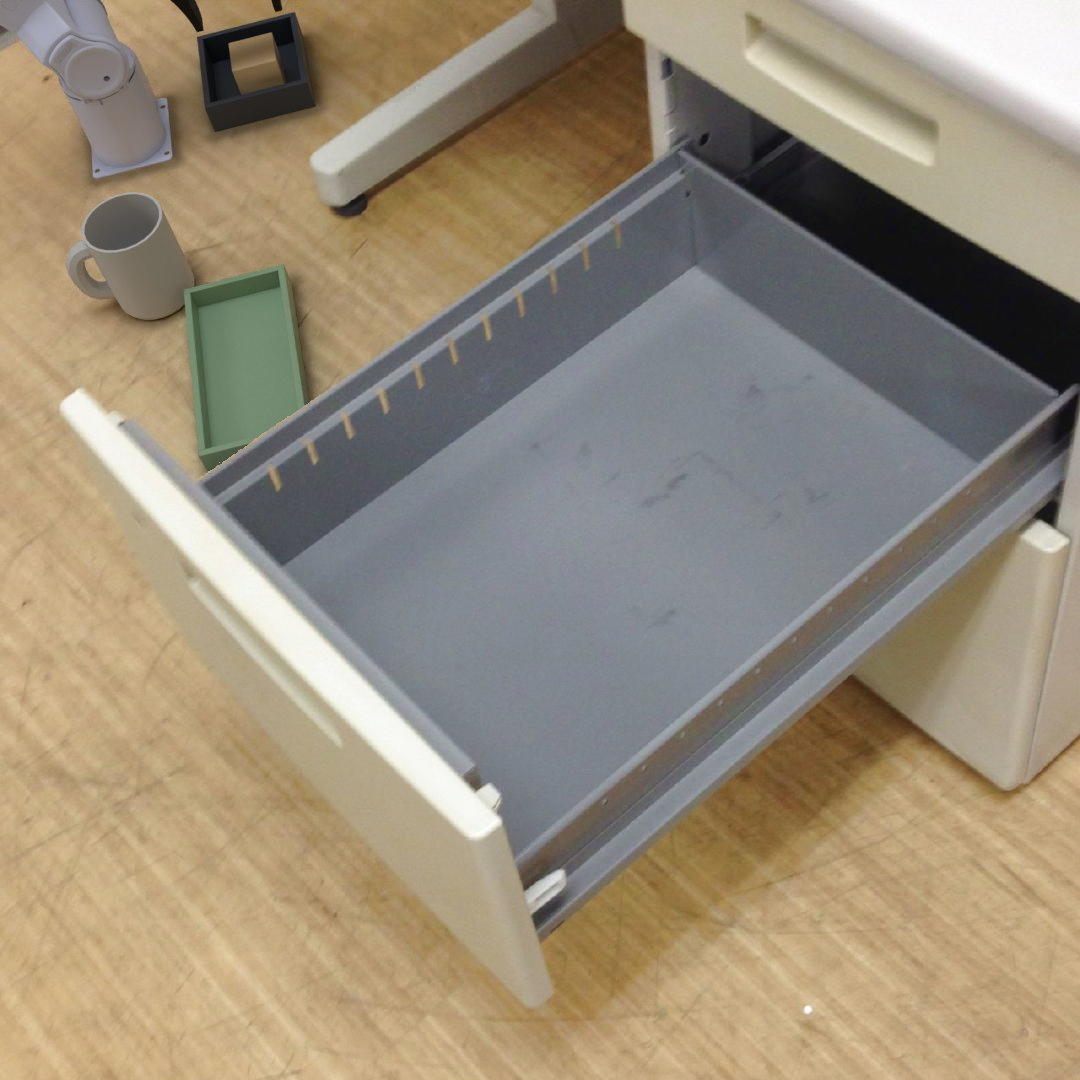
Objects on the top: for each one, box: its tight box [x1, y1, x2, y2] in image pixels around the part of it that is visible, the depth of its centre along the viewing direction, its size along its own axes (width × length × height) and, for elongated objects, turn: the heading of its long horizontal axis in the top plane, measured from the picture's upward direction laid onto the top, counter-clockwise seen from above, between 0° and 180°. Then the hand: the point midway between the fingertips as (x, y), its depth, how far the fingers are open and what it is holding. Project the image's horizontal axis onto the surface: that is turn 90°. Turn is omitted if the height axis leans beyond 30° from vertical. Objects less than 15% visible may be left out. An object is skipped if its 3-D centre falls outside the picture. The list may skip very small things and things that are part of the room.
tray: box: [184, 263, 310, 473], centre depth 130 cm, size 19×9×2 cm, turn 12°
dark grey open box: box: [196, 11, 316, 133], centre depth 151 cm, size 11×10×4 cm
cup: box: [65, 191, 195, 321], centre depth 134 cm, size 7×10×9 cm
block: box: [229, 32, 287, 95], centre depth 149 cm, size 4×4×4 cm
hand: (238, 15), depth 144 cm, fingers open, 7 cm apart
